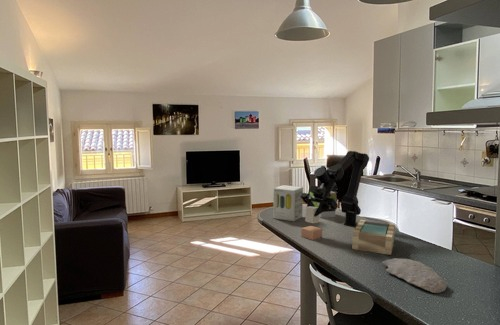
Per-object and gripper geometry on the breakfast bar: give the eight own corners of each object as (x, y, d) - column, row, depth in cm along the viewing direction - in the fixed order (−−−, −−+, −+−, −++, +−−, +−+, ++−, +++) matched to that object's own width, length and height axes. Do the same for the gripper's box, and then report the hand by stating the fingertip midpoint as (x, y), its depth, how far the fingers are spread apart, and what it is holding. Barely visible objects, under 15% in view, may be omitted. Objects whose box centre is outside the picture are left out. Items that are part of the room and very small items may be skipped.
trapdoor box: (359, 234, 174) (360, 219, 173) (394, 239, 167) (395, 223, 166) (352, 248, 153) (353, 232, 152) (391, 254, 146) (392, 237, 145)
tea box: (308, 212, 218) (309, 188, 216) (323, 211, 221) (324, 187, 219) (320, 218, 203) (321, 192, 202) (335, 217, 206) (336, 192, 205)
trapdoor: (365, 225, 169) (366, 219, 169) (388, 228, 165) (388, 222, 165) (360, 235, 153) (360, 229, 153) (385, 239, 149) (385, 232, 149)
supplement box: (272, 218, 202) (273, 188, 200) (281, 213, 213) (282, 184, 211) (294, 221, 195) (295, 190, 194) (302, 216, 207) (303, 186, 205)
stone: (373, 267, 135) (423, 298, 111) (373, 253, 134) (423, 281, 110) (407, 262, 139) (462, 290, 115) (407, 248, 139) (463, 274, 115)
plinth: (310, 233, 174) (310, 225, 173) (322, 237, 169) (322, 228, 168) (301, 236, 169) (301, 228, 169) (312, 240, 164) (313, 231, 164)
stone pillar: (311, 220, 171) (312, 205, 171) (318, 222, 168) (319, 207, 167) (305, 221, 168) (306, 206, 168) (312, 223, 165) (313, 208, 164)
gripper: (303, 176, 175) (287, 201, 169) (335, 181, 162) (319, 208, 156) (312, 190, 182) (298, 215, 175) (344, 196, 168) (329, 223, 162)
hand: (310, 215), depth 167 cm, fingers closed on stone pillar, 4 cm apart
